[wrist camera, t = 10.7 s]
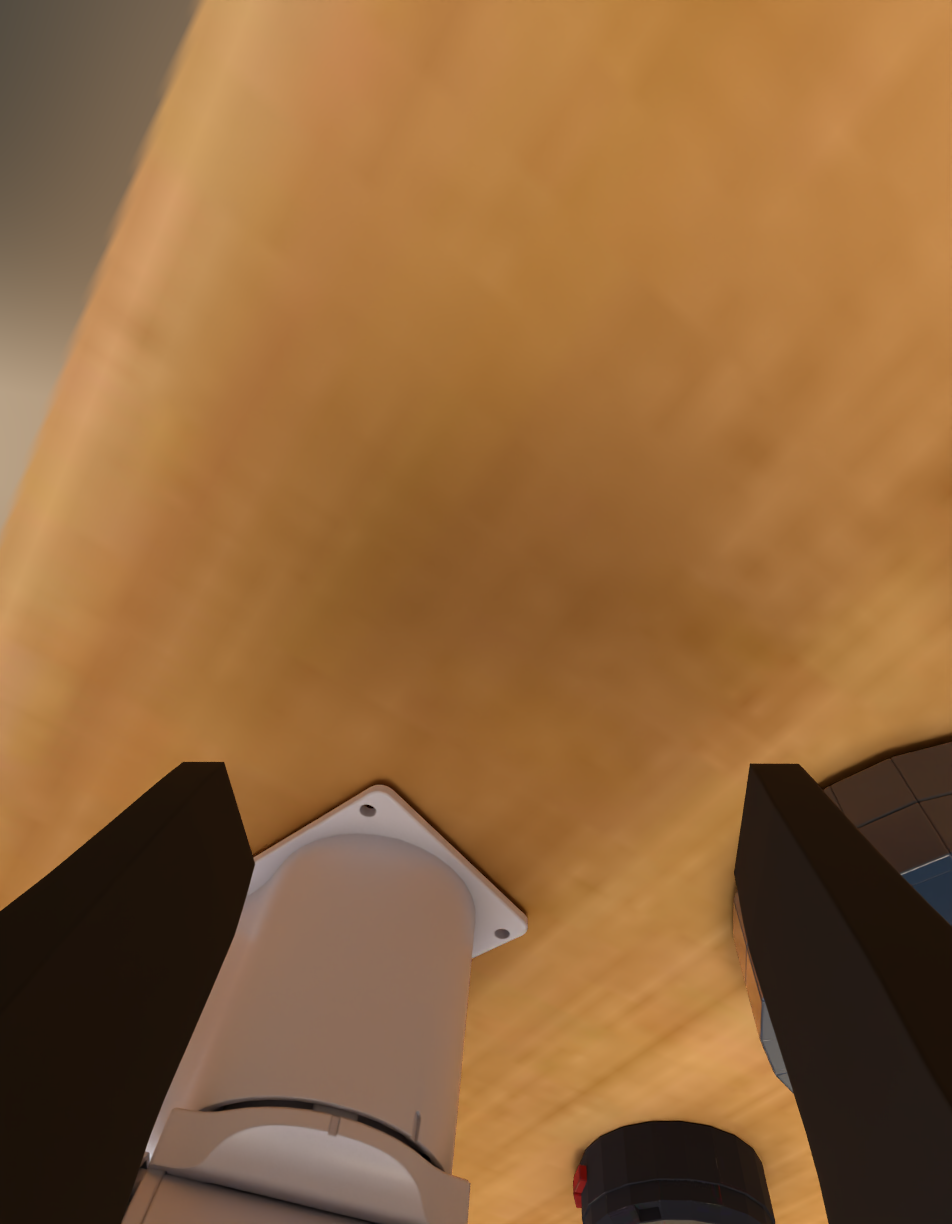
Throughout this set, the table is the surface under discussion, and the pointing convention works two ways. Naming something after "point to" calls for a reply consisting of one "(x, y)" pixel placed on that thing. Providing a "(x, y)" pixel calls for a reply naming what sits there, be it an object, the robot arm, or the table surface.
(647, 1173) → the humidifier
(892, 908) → the robot arm
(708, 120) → the table surface
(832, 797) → the pan
